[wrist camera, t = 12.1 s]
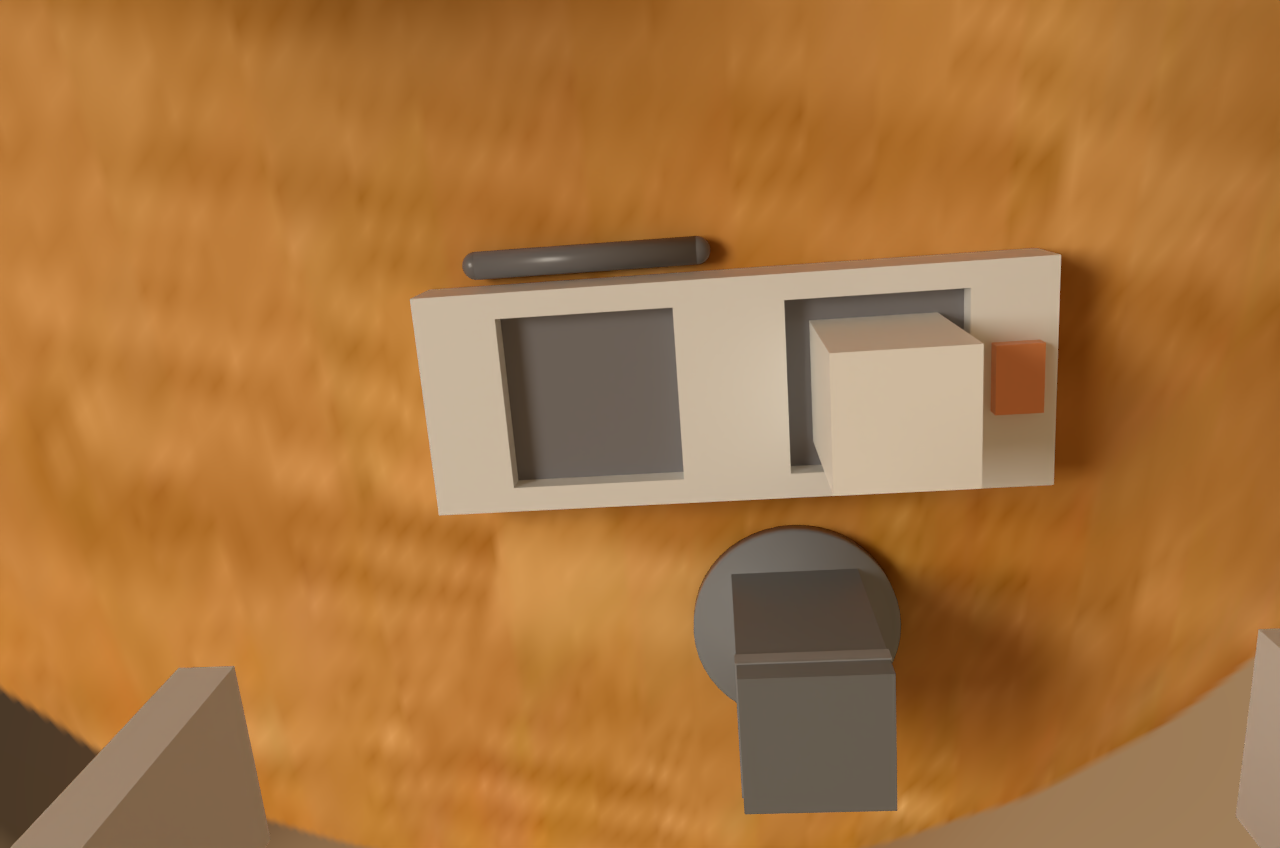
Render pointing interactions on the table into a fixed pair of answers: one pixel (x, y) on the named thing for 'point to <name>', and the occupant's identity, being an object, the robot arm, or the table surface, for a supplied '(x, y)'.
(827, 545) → the grey disc
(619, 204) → the table surface
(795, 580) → the block
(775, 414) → the strip
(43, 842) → the robot arm
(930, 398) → the white plug
